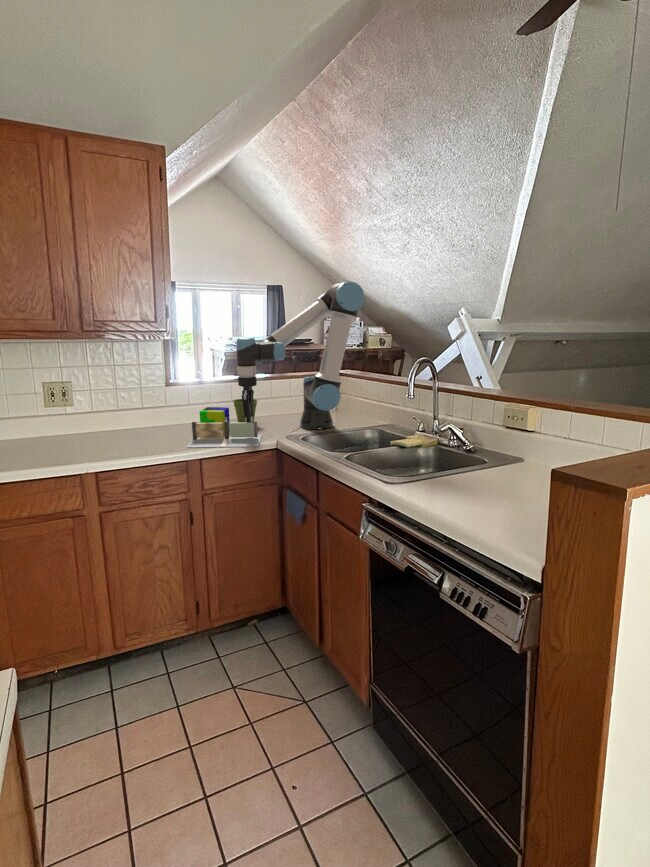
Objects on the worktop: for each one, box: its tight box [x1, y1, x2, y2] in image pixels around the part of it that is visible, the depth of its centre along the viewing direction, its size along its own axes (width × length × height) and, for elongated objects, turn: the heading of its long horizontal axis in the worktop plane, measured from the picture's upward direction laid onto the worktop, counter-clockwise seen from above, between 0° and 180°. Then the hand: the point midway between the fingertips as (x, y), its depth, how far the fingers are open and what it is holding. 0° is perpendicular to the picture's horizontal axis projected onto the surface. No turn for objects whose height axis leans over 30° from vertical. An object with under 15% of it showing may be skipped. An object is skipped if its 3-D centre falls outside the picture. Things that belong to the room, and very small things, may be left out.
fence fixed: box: [191, 421, 230, 440], centre depth 207 cm, size 15×2×8 cm, turn 93°
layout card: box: [186, 434, 263, 449], centre depth 205 cm, size 28×18×1 cm, turn 93°
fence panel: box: [229, 420, 259, 437], centre depth 207 cm, size 11×1×6 cm, turn 91°
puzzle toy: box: [199, 406, 231, 435], centre depth 220 cm, size 10×10×10 cm
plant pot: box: [231, 398, 259, 423], centre depth 234 cm, size 12×12×11 cm
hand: (249, 431), depth 210 cm, fingers closed
